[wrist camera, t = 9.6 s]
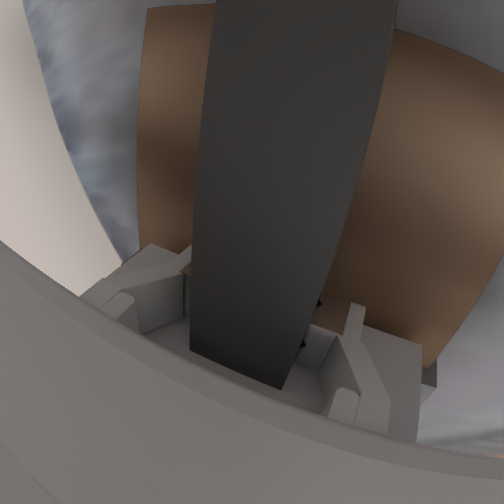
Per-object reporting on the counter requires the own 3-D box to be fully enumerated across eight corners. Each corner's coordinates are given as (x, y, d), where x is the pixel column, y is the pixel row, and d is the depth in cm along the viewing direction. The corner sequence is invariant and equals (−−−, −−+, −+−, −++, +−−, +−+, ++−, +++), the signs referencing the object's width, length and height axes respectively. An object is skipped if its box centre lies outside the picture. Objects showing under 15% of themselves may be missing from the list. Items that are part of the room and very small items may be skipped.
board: (189, 15, 12) (147, 8, 9) (525, 99, 8) (558, 106, 5) (173, 232, 18) (140, 257, 16) (427, 325, 14) (427, 368, 12)
